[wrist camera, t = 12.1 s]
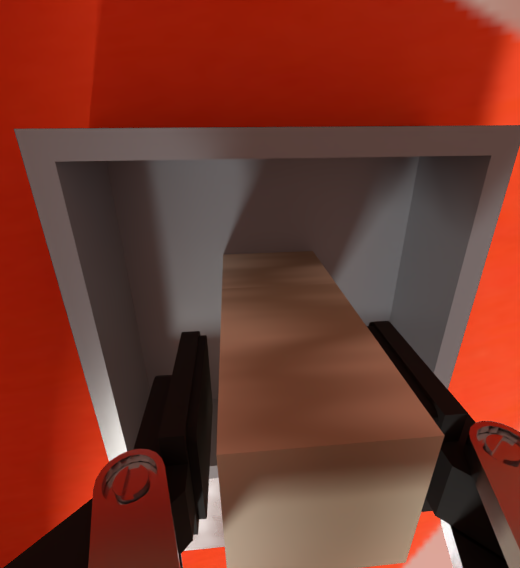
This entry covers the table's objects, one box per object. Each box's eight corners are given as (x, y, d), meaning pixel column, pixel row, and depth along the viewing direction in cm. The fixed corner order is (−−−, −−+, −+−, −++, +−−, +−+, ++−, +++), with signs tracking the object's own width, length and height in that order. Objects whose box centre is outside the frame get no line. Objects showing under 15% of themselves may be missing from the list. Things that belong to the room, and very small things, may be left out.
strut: (312, 251, 15) (444, 435, 6) (308, 327, 17) (405, 562, 8) (223, 254, 15) (216, 455, 6) (227, 331, 16) (228, 582, 7)
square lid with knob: (319, 513, 25) (336, 585, 21) (182, 527, 24) (174, 604, 20) (330, 413, 21) (354, 479, 17) (165, 425, 20) (150, 498, 16)
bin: (381, 385, 20) (427, 459, 15) (142, 401, 19) (116, 486, 14) (430, 127, 14) (525, 125, 10) (88, 129, 13) (13, 128, 9)
